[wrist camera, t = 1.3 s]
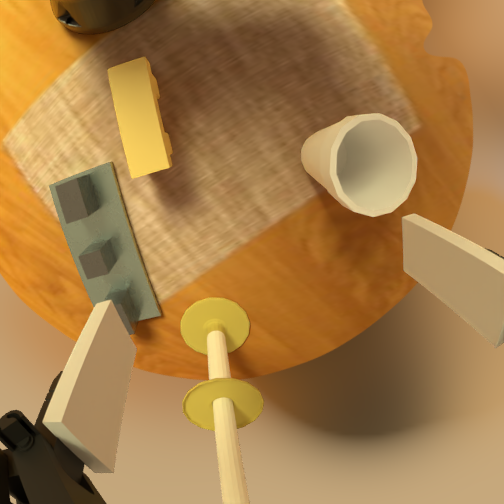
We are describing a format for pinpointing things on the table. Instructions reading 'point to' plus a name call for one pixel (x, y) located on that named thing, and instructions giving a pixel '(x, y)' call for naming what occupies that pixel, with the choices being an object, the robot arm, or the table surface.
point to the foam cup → (363, 162)
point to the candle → (221, 387)
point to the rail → (104, 243)
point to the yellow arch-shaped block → (140, 117)
